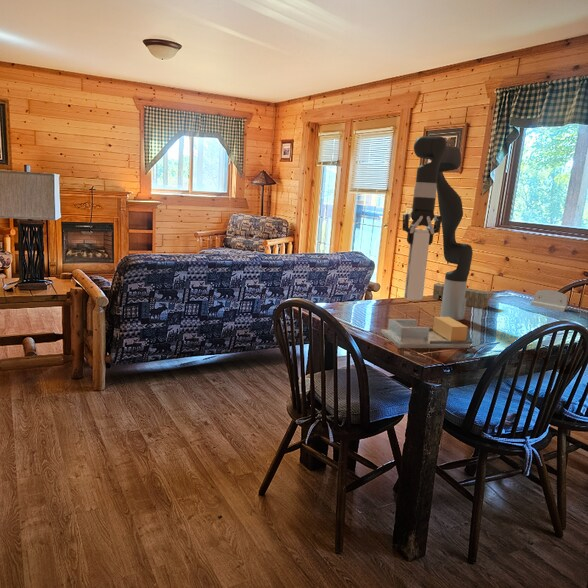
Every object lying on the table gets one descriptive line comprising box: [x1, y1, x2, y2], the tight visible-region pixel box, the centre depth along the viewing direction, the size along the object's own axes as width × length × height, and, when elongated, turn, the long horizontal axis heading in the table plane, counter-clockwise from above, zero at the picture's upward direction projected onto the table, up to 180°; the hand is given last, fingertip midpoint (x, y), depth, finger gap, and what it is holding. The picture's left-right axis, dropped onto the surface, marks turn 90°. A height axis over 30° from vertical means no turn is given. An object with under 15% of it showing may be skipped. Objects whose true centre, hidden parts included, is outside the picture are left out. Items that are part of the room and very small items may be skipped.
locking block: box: [432, 316, 469, 341], centre depth 187 cm, size 6×14×6 cm, turn 11°
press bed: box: [380, 318, 473, 349], centre depth 185 cm, size 28×18×6 cm, turn 101°
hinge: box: [530, 289, 569, 312], centre depth 258 cm, size 17×5×10 cm, turn 46°
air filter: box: [403, 228, 430, 301], centre depth 179 cm, size 6×6×25 cm
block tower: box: [432, 282, 494, 309], centre depth 256 cm, size 8×8×29 cm
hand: (419, 244), depth 177 cm, fingers closed on air filter, 6 cm apart
